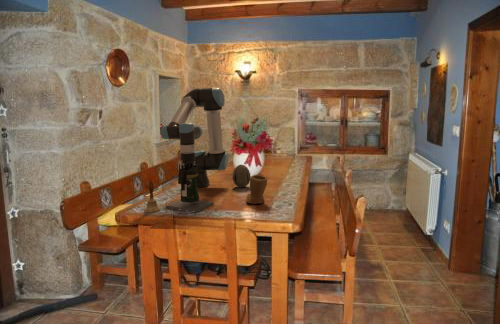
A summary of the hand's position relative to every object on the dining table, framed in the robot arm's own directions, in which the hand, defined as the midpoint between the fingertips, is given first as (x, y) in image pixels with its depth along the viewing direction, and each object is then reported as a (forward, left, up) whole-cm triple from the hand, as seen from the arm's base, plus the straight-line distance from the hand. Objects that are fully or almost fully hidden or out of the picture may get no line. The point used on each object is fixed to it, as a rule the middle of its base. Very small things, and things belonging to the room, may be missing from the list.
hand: (189, 194), depth 206 cm
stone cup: (+29, +23, -7) cm, 38 cm away
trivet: (0, 0, -7) cm, 7 cm away
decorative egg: (+4, +52, -7) cm, 53 cm away
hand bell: (-14, -14, -7) cm, 21 cm away
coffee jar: (0, 0, -4) cm, 4 cm away
